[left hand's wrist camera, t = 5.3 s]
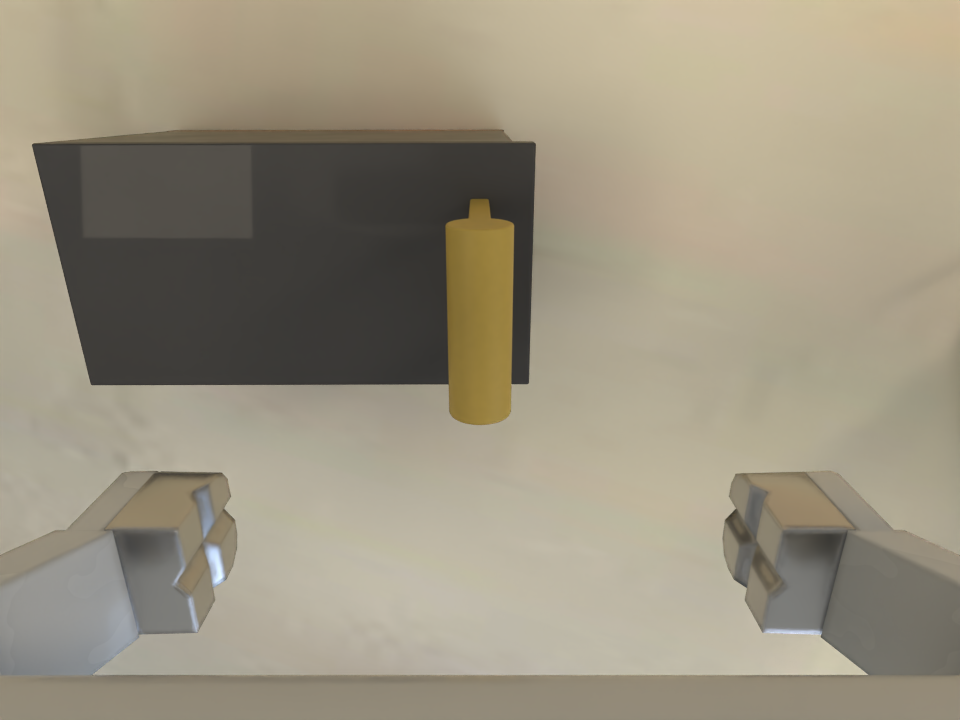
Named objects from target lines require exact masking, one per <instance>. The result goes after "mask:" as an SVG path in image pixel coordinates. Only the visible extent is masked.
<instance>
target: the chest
mask: <svg viewBox="0 0 960 720" xmlns="http://www.w3.org/2000/svg"><path fill="white" fill-rule="evenodd" d="M57 142H513V141H512V140H511V139H510V138H509V137H508V136H507V135H506V134H505V132H504V130H175V131H167V132H156V133H145V134H134V135H123V136H112V137H101V138H90V139H79V140H68V141H57Z"/></svg>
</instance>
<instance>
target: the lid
mask: <svg viewBox="0 0 960 720" xmlns="http://www.w3.org/2000/svg"><path fill="white" fill-rule="evenodd" d="M32 147H33V151H34V155H35V159H36V163H37V167H38V171H39V175H40V179H41V183H42V187H43V191H44V196H45V200H46V204H47V208H48V212H49V216H50V220H51V224H52V228H53V232H54V236H55V240H56V244H57V248H58V252H59V256H60V261H61V265H62V269H63V273H64V277H65V281H66V285H67V289H68V293H69V297H70V301H71V305H72V309H73V313H74V317H75V321H76V325H77V330H78V334H79V338H80V342H81V346H82V350H83V354H84V358H85V362H86V366H87V370H88V374H89V378H90V382H91V385H344V384H449V412H450V414H451V416H452V417H453V418H454V419H456V420H458V421H460V422H463V423H467V424H473V425H487V424H493V423H497V422H500V421H502V420H504V419H506V418H507V417H508V416H509V414H510V412H511V384H528V383H529V358H530V324H531V289H532V255H533V220H534V186H535V151H536V144H535V143H534V142H45V143H34V144H32Z"/></svg>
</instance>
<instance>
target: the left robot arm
mask: <svg viewBox="0 0 960 720" xmlns="http://www.w3.org/2000/svg"><path fill="white" fill-rule="evenodd" d="M230 497H231V494H230V489H229V484H228V479H227V478H226V477H225V476H224V475H223V474H222V473H212V472H158V471H131V472H125V473H122V474H121V475H120V476H119V477H118V478H117V479H116V480H115V481H114V482H113V483H112V484H111V485H110V486H109V487H108V488H107V489H106V490H105V491H104V492H103V493H102V494H101V495H100V496H99V497H98V498H97V499H96V500H95V501H94V502H93V503H92V504H91V505H90V506H89V507H88V508H87V509H86V510H85V511H84V512H83V513H82V514H81V516H80V517H79V518H78V519H77V520H76V521H75V522H74V523H73V524H72V525H71V526H70V527H69V528H68V529H67V530H57V531H53V532H51V533H49V534H46V535H44V536H42V537H40V538H37V539H35V540H33V541H31V542H29V543H26V544H24V545H22V546H20V547H17V548H15V549H13V550H11V551H8V552H6V553H4V554H2V555H0V720H960V555H958V554H956V553H954V552H951V551H949V550H947V549H945V548H942V547H940V546H938V545H936V544H934V543H931V542H929V541H927V540H925V539H922V538H920V537H918V536H916V535H914V534H911V533H909V532H907V531H903V530H893V529H892V528H891V527H890V526H889V525H888V524H887V523H886V522H885V521H884V520H883V518H882V517H881V516H880V515H879V514H878V513H877V512H876V511H875V510H874V509H873V508H872V507H871V506H870V505H869V504H868V503H867V502H866V501H865V500H864V499H863V498H862V497H861V496H860V495H859V494H858V493H857V492H856V491H855V490H854V489H853V488H852V487H851V486H850V485H849V484H848V483H847V482H846V481H845V480H844V479H843V478H842V477H841V476H840V475H839V474H838V473H835V472H832V471H812V472H780V473H742V474H735V476H734V478H733V481H732V483H731V488H730V493H729V497H730V499H731V501H732V502H733V504H734V505H735V507H736V509H735V510H734V511H733V512H732V513H731V515H730V516H729V517H728V518H727V519H726V520H725V524H724V531H723V548H724V557H725V560H726V563H727V567H728V569H729V571H730V573H731V575H732V577H733V579H734V580H735V581H737V582H738V583H740V584H742V585H743V586H745V587H746V588H747V590H746V596H745V601H746V603H747V605H748V607H749V609H750V611H751V612H752V614H753V616H754V618H755V620H756V622H757V623H758V625H759V627H760V629H761V631H762V633H790V634H821V638H823V639H824V640H825V641H826V642H828V643H829V644H830V645H832V646H833V647H834V648H835V649H837V650H838V651H839V652H840V653H842V654H843V655H844V656H845V657H847V658H848V659H849V660H851V661H852V662H853V663H854V664H856V665H857V666H858V667H859V668H861V669H862V670H863V671H864V672H866V673H867V674H868V675H92V674H93V673H94V672H96V671H97V670H98V669H100V668H101V667H102V666H103V665H105V664H106V663H107V662H108V661H110V660H111V659H112V658H113V657H115V656H116V655H117V654H119V653H120V652H121V651H122V650H124V649H125V648H126V647H127V646H129V645H130V644H131V643H133V642H134V641H135V640H136V639H138V638H139V634H169V633H198V631H199V629H200V627H201V625H202V623H203V622H204V620H205V618H206V616H207V614H208V612H209V611H210V609H211V607H212V605H213V603H214V601H215V596H214V591H213V588H214V587H215V586H217V585H218V584H220V583H221V582H223V581H225V580H226V579H227V577H228V575H229V573H230V571H231V569H232V567H233V563H234V559H235V555H236V550H237V530H236V523H235V520H234V519H233V518H232V517H231V516H230V515H229V514H228V512H227V511H226V510H225V509H224V507H225V505H226V504H227V502H228V501H229V499H230Z"/></svg>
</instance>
